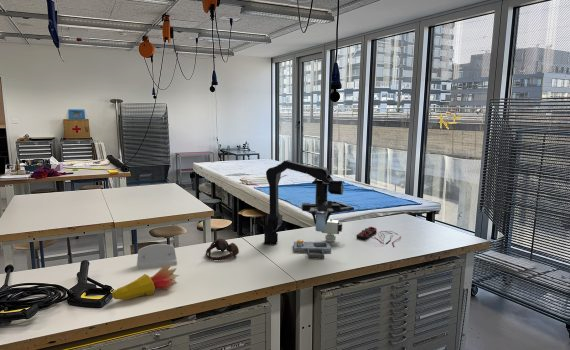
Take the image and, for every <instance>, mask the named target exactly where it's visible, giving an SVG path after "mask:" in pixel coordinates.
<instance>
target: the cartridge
mask: <svg viewBox="0 0 570 350" xmlns="http://www.w3.org/2000/svg"><path fill="white" fill-rule="evenodd" d="M315 217H316V224H315V229H314V230H315V231H316V232H318V233H319V232H321V233H322V232H323V231H325V222H326V212H325V211H321V212H319V211H318V210H317V211H315Z"/></svg>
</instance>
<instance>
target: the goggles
mask: <svg viewBox="0 0 570 350" xmlns="http://www.w3.org/2000/svg"><path fill="white" fill-rule="evenodd" d="M213 249H216V250H217V251H218V250H221V251H222V252H221V253H223V252H224V251H226V252H228V254H225V255H220V256H212V255H211V252H212V250H213ZM238 254H240V250H239V247H238V245H237V244H236V243H234V242H231V243H228V241H227V240H226V239H224V238H216V239H215V240H213V241H212V242H211V243H210V245H209V246H208V248H206V250H205V256H206V258H207V259H208V260H210V259H211V261H214V260H218V261H217V262H220V261H223V260H228V259H230V258H235V257H236V256H237V255H238ZM233 256H234V257H233ZM219 260H220V261H219Z"/></svg>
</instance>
